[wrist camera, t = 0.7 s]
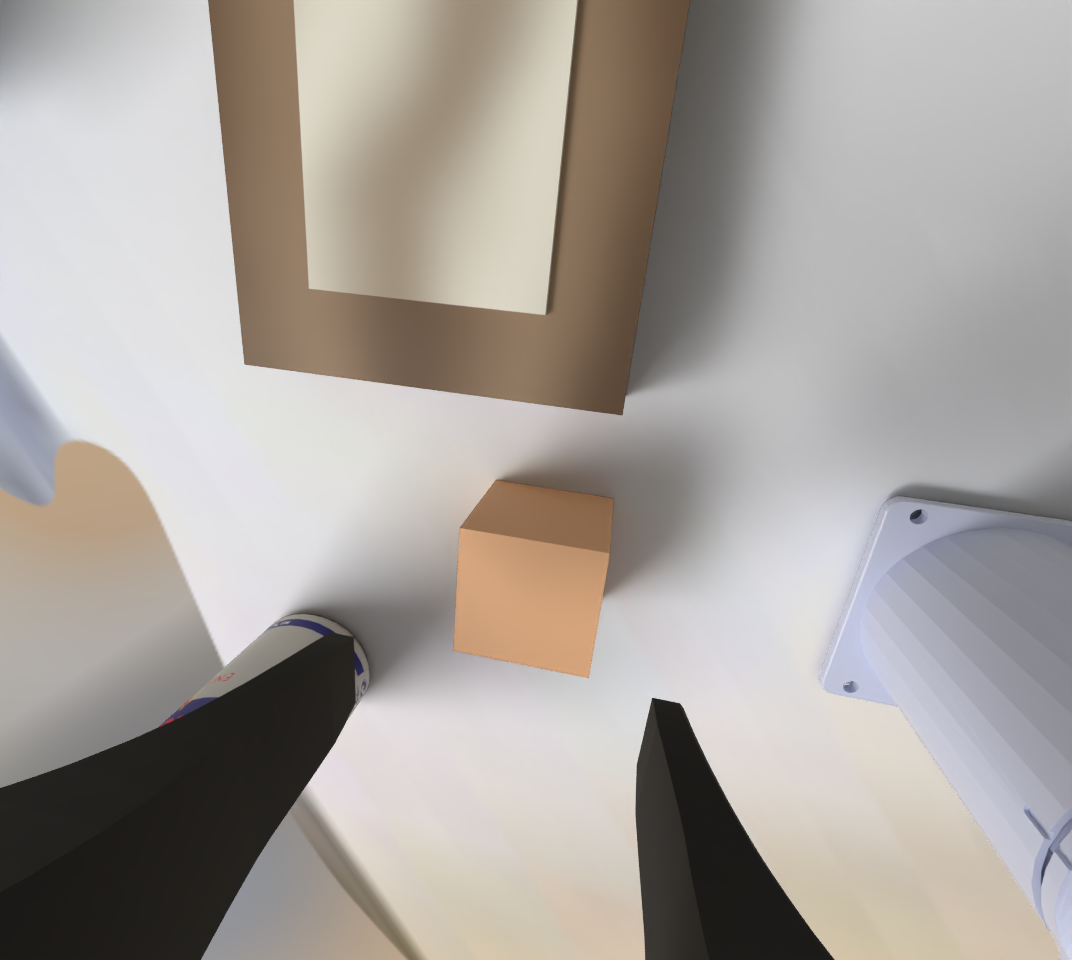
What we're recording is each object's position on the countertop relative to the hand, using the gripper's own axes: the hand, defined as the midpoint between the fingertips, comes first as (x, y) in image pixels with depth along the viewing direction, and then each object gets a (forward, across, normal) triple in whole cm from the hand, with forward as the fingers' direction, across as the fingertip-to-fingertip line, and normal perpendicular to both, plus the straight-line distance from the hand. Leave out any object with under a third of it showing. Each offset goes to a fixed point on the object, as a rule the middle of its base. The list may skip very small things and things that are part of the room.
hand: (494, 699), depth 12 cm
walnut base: (+8, +4, -12) cm, 15 cm away
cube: (+8, 0, 0) cm, 8 cm away
